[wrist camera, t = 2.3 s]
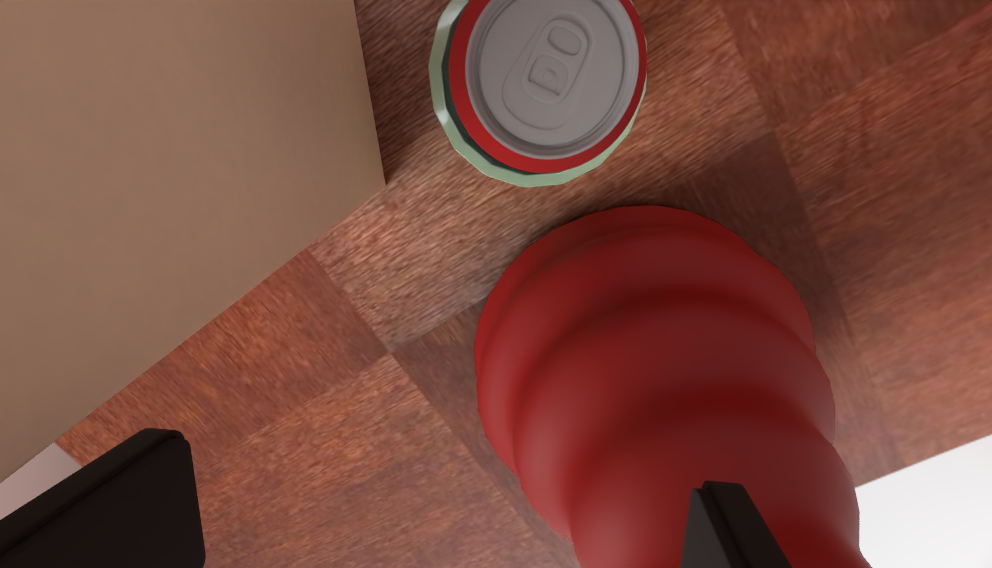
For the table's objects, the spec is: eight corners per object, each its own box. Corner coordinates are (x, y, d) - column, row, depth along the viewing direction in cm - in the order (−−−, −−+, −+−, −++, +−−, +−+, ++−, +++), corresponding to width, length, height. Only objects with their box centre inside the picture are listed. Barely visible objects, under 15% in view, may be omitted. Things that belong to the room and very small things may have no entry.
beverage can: (450, 112, 26) (409, 126, 15) (501, -16, 24) (498, -110, 13) (558, 165, 27) (594, 214, 16) (618, 46, 25) (707, 8, 14)
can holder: (432, -11, 25) (414, -38, 20) (619, -31, 24) (650, -65, 19) (455, 176, 28) (444, 194, 23) (619, 162, 28) (644, 177, 23)
